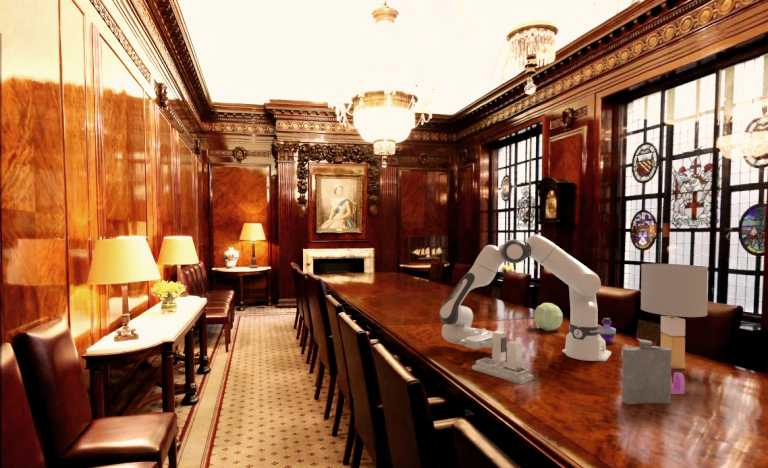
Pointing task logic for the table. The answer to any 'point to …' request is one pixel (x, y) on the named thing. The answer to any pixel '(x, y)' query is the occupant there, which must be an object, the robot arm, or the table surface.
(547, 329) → the decorative sphere
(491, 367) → the pillar on stepped tray
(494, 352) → the loose rectangular block
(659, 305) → the lamp
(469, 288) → the robot arm
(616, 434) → the table surface
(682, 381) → the bracket
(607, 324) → the potion bottle
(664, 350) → the hip flask
